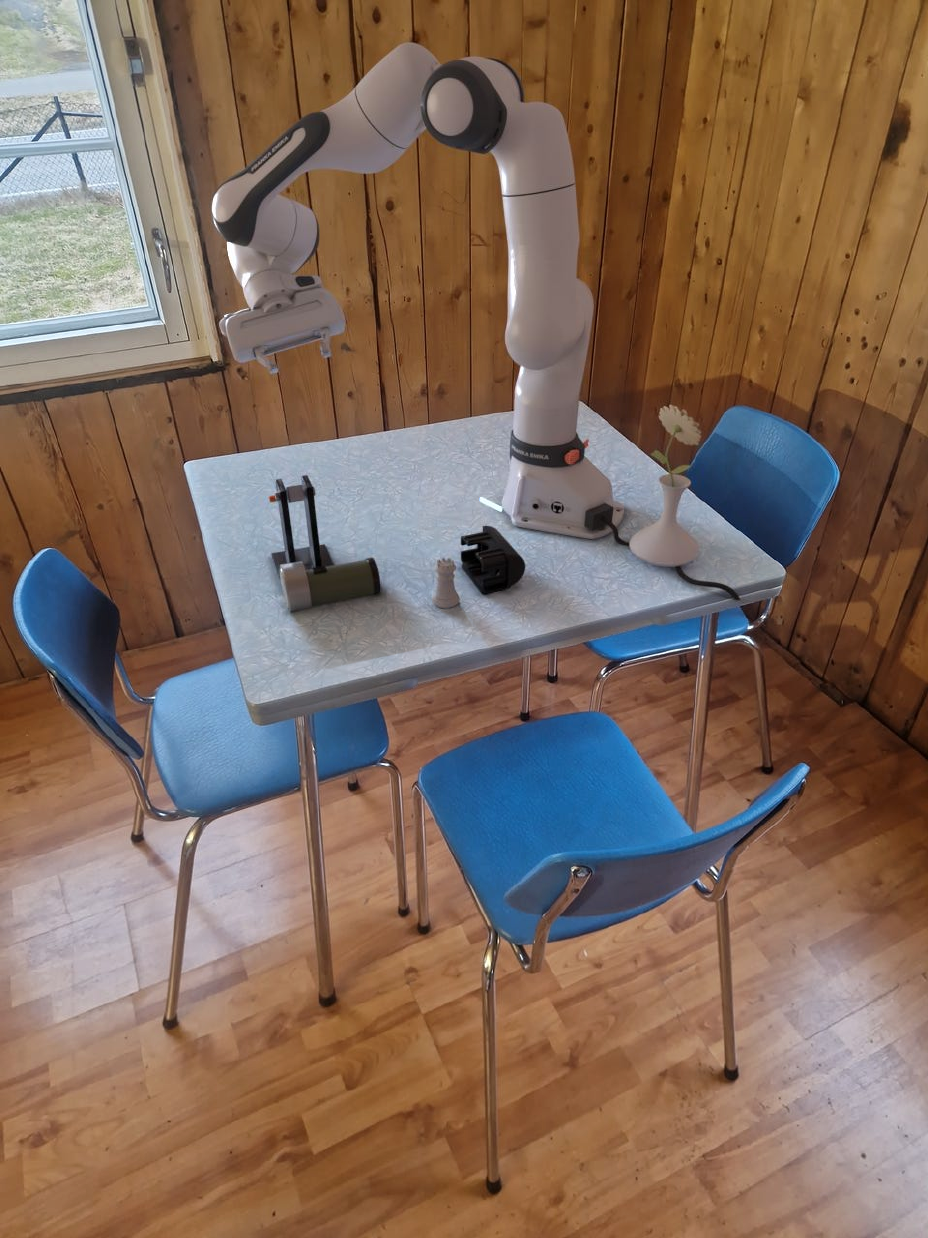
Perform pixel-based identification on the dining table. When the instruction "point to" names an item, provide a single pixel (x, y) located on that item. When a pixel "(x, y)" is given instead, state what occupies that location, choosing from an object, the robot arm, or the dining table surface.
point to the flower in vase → (670, 502)
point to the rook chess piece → (445, 584)
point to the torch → (328, 583)
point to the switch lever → (292, 494)
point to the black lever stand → (314, 553)
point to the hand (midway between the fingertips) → (300, 362)
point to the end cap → (491, 561)
